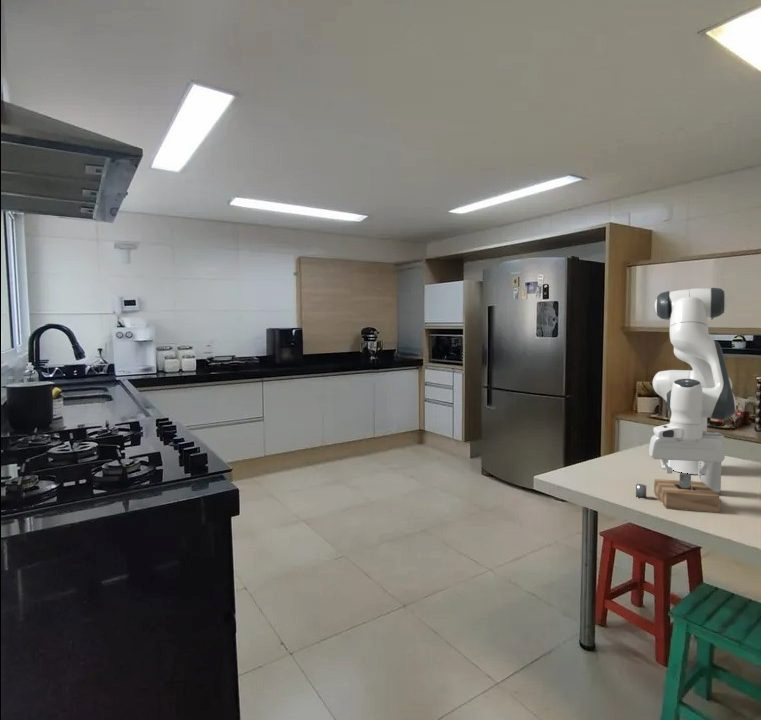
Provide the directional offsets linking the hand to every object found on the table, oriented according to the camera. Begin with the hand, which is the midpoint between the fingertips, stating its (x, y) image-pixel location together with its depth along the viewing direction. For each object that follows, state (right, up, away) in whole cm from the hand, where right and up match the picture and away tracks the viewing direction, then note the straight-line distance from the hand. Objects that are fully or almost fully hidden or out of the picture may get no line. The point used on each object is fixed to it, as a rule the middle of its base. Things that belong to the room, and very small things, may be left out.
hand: (685, 473), depth 150 cm
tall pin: (0, -9, 0) cm, 9 cm away
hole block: (0, -9, 0) cm, 9 cm away
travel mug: (+14, -9, +9) cm, 19 cm away
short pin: (-11, -9, +6) cm, 15 cm away
